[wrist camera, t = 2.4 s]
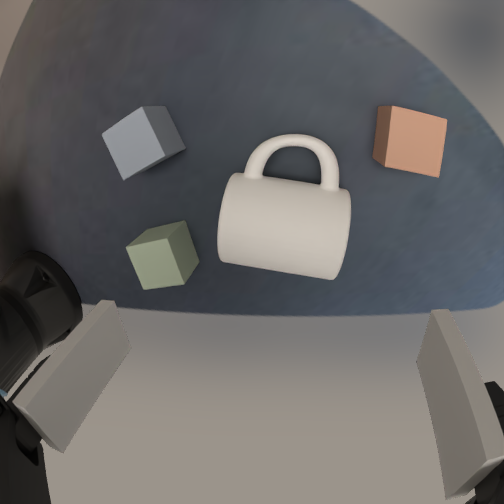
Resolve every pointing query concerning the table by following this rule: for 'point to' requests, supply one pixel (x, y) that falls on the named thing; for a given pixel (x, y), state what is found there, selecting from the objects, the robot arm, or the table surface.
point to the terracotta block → (409, 140)
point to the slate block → (143, 140)
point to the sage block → (163, 256)
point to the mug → (286, 215)
